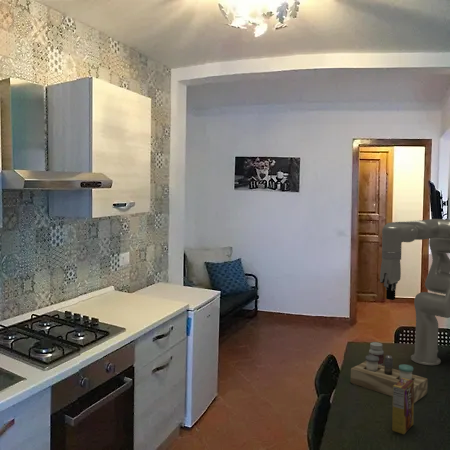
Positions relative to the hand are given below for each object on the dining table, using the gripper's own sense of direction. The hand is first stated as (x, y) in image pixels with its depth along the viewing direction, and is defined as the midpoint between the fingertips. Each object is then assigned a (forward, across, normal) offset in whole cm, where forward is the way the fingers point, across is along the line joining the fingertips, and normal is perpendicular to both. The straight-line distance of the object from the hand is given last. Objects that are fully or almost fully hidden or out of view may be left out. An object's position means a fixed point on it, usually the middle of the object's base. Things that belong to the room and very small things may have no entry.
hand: (390, 299), depth 199 cm
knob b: (+30, +13, +12) cm, 35 cm away
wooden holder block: (+33, +12, +5) cm, 35 cm away
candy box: (+32, +39, +22) cm, 55 cm away
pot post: (+27, +12, +5) cm, 30 cm away
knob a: (+30, +12, -2) cm, 32 cm away
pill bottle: (+33, -3, -7) cm, 34 cm away
